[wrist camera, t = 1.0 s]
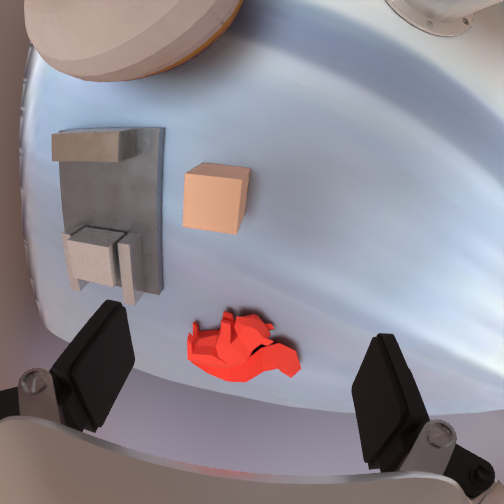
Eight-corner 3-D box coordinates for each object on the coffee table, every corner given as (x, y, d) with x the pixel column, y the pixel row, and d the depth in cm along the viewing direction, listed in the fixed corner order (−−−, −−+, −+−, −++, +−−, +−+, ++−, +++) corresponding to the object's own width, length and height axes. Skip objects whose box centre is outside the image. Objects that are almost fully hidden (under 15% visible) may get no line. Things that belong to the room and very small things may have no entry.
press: (66, 129, 30) (37, 135, 25) (164, 127, 29) (142, 131, 24) (77, 270, 38) (56, 289, 33) (163, 288, 38) (147, 313, 33)
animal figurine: (296, 370, 42) (296, 397, 38) (196, 357, 43) (189, 382, 38) (312, 311, 37) (315, 338, 33) (195, 296, 38) (184, 321, 33)
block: (202, 162, 30) (184, 173, 25) (250, 167, 30) (242, 179, 25) (199, 207, 33) (182, 226, 27) (244, 213, 32) (236, 234, 27)
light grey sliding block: (85, 226, 33) (66, 239, 29) (125, 232, 33) (108, 247, 29) (89, 262, 35) (73, 277, 32) (128, 270, 35) (113, 287, 31)
